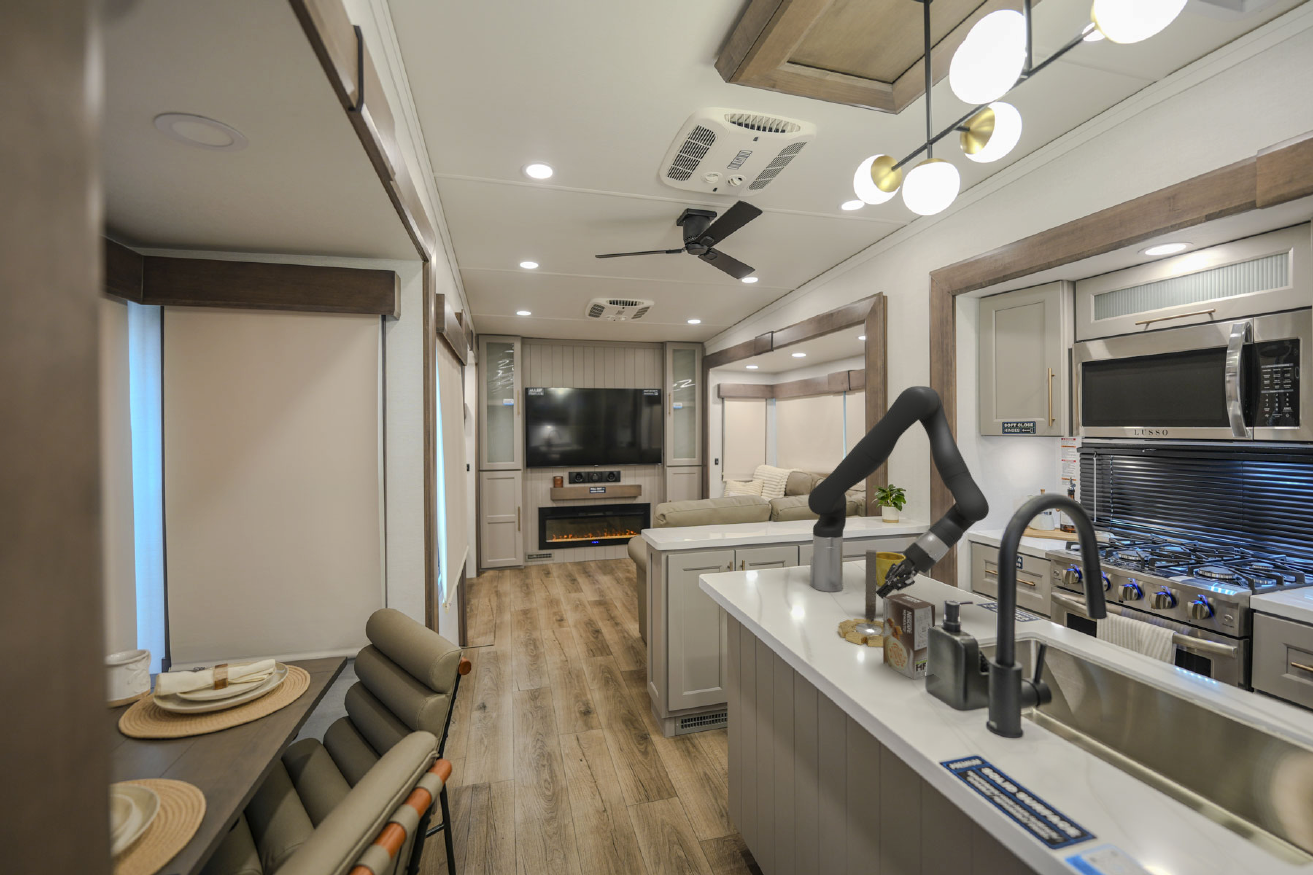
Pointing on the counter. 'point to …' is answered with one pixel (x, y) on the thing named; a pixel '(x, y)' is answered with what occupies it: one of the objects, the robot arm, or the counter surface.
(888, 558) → the plant pot
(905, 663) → the coffee box
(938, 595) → the counter surface
